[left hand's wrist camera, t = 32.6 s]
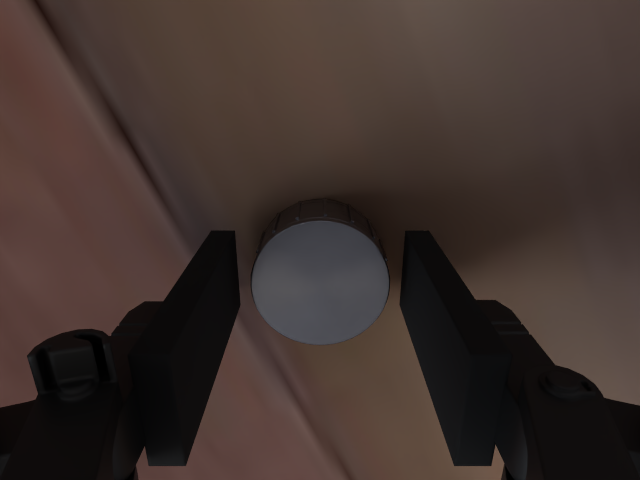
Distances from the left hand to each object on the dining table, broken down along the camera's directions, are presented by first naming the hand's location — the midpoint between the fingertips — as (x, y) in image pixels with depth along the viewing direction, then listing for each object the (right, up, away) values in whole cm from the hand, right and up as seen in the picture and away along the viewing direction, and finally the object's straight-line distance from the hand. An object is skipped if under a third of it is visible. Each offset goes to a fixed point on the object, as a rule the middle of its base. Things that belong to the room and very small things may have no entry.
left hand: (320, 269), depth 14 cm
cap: (0, 0, -1) cm, 1 cm away
